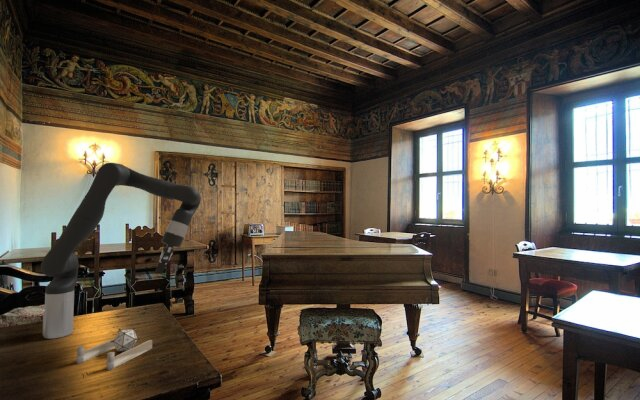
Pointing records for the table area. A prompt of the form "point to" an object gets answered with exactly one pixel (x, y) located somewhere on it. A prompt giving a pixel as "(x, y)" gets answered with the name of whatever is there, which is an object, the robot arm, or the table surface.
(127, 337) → the game die
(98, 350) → the chute
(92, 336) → the table surface
